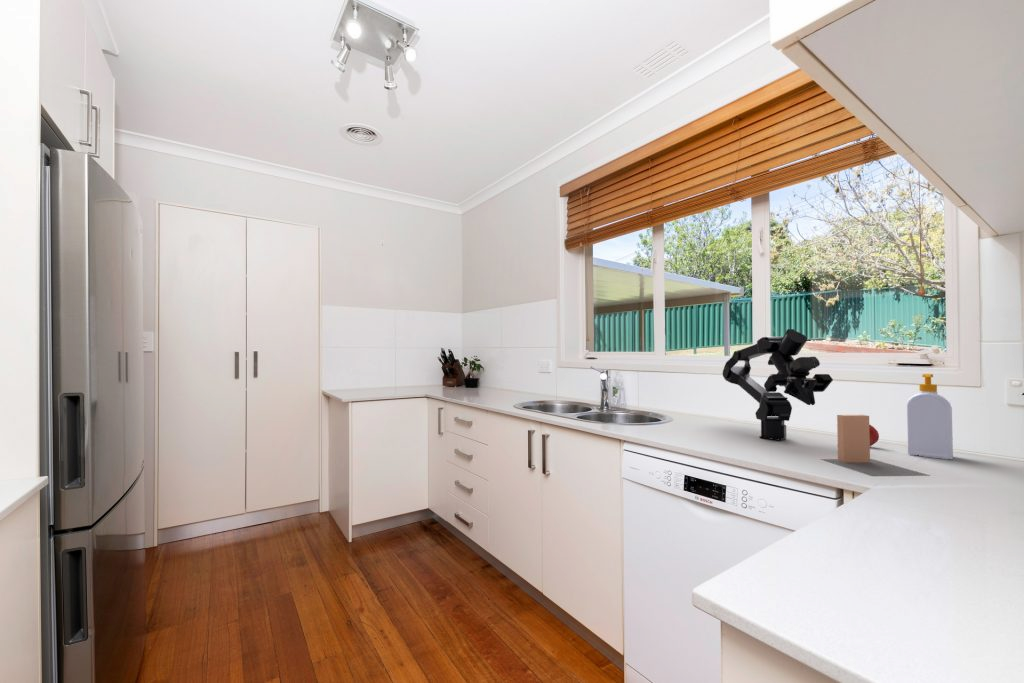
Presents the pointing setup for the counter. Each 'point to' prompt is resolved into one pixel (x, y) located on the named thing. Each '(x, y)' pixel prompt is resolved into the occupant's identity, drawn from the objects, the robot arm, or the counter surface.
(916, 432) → the soap bottle
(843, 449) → the terracotta block
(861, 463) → the charcoal mat
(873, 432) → the onion
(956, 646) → the counter surface
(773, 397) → the robot arm
